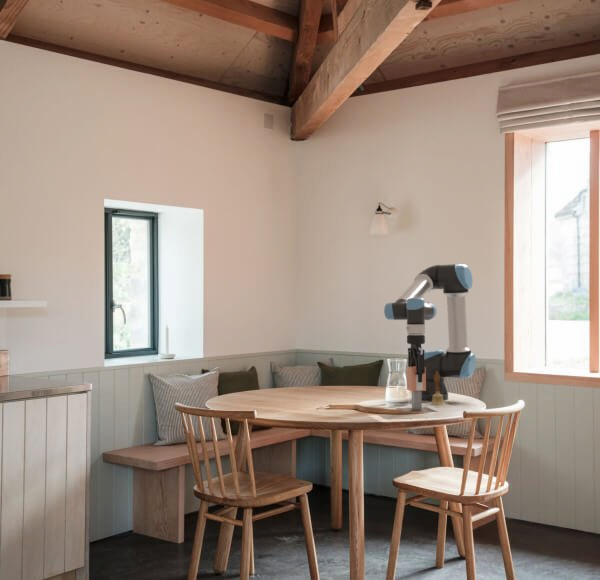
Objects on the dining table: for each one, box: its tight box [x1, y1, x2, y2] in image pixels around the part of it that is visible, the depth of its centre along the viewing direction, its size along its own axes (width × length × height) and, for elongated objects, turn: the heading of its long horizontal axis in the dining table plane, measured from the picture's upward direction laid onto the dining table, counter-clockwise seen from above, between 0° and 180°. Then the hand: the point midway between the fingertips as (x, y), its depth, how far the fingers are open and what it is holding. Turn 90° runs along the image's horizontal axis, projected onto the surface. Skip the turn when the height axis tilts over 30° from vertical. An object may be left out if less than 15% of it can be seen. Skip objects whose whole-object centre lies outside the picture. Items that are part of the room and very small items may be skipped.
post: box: [411, 391, 423, 411], centre depth 334 cm, size 3×3×8 cm
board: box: [395, 406, 439, 414], centre depth 333 cm, size 14×14×2 cm
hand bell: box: [430, 371, 446, 406], centre depth 353 cm, size 8×8×16 cm
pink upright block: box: [406, 365, 426, 392], centre depth 334 cm, size 6×6×10 cm
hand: (416, 389), depth 334 cm, fingers closed on pink upright block, 6 cm apart
